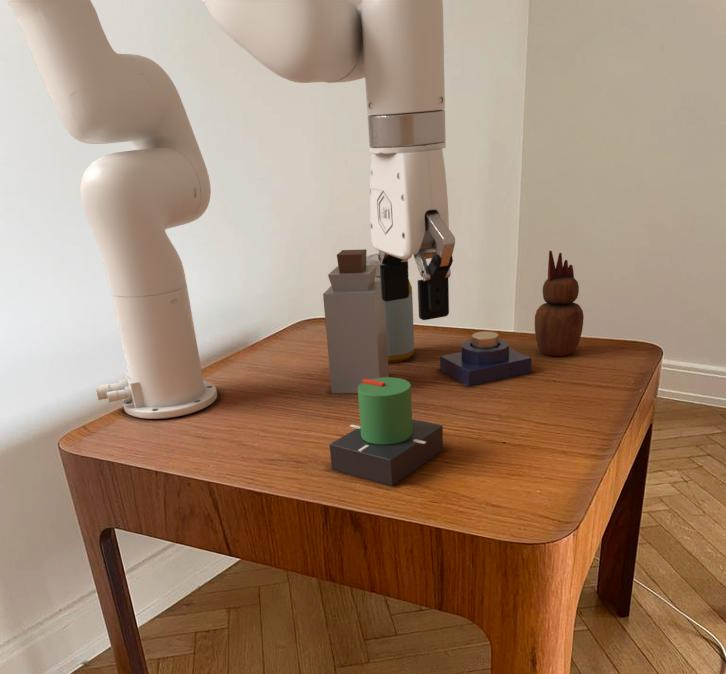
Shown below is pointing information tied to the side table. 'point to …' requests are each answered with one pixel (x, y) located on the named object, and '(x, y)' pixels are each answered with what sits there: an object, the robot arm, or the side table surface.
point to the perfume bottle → (355, 323)
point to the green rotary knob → (385, 410)
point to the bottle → (397, 321)
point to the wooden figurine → (559, 311)
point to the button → (485, 340)
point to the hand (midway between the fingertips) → (413, 308)
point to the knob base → (386, 454)
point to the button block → (484, 363)
